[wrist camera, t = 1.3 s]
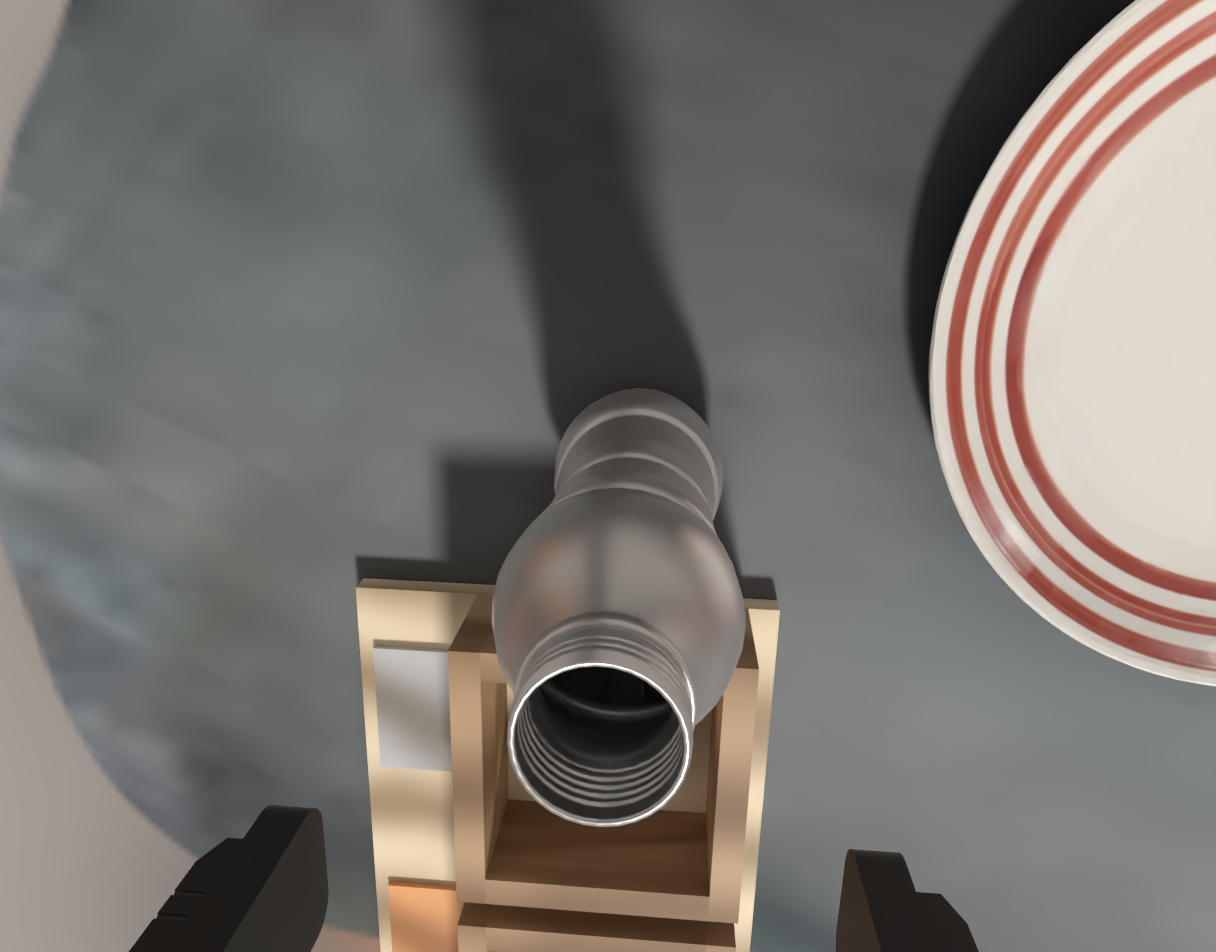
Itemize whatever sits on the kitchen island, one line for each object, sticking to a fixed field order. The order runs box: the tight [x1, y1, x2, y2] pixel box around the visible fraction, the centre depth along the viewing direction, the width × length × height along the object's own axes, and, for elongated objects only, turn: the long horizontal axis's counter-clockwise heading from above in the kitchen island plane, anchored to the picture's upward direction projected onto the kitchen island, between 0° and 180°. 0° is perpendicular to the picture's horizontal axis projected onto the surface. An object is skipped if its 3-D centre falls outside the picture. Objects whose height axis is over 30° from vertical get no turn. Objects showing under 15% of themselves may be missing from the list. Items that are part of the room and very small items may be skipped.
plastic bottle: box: [492, 388, 746, 827], centre depth 26 cm, size 6×7×20 cm
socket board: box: [356, 578, 780, 952], centre depth 38 cm, size 24×18×6 cm
